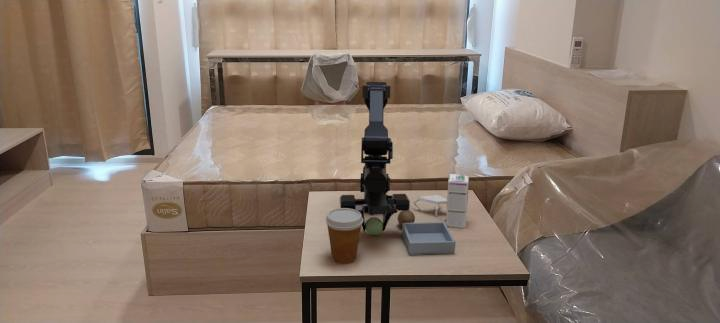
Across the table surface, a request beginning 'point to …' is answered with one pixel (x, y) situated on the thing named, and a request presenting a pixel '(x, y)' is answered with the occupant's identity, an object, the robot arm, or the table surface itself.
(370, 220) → the green ball
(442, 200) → the origami figure
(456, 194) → the syrup box
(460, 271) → the table surface
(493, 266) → the table surface
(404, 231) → the bin
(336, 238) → the disposable coffee cup
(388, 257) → the table surface
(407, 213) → the walnut ball
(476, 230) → the table surface
